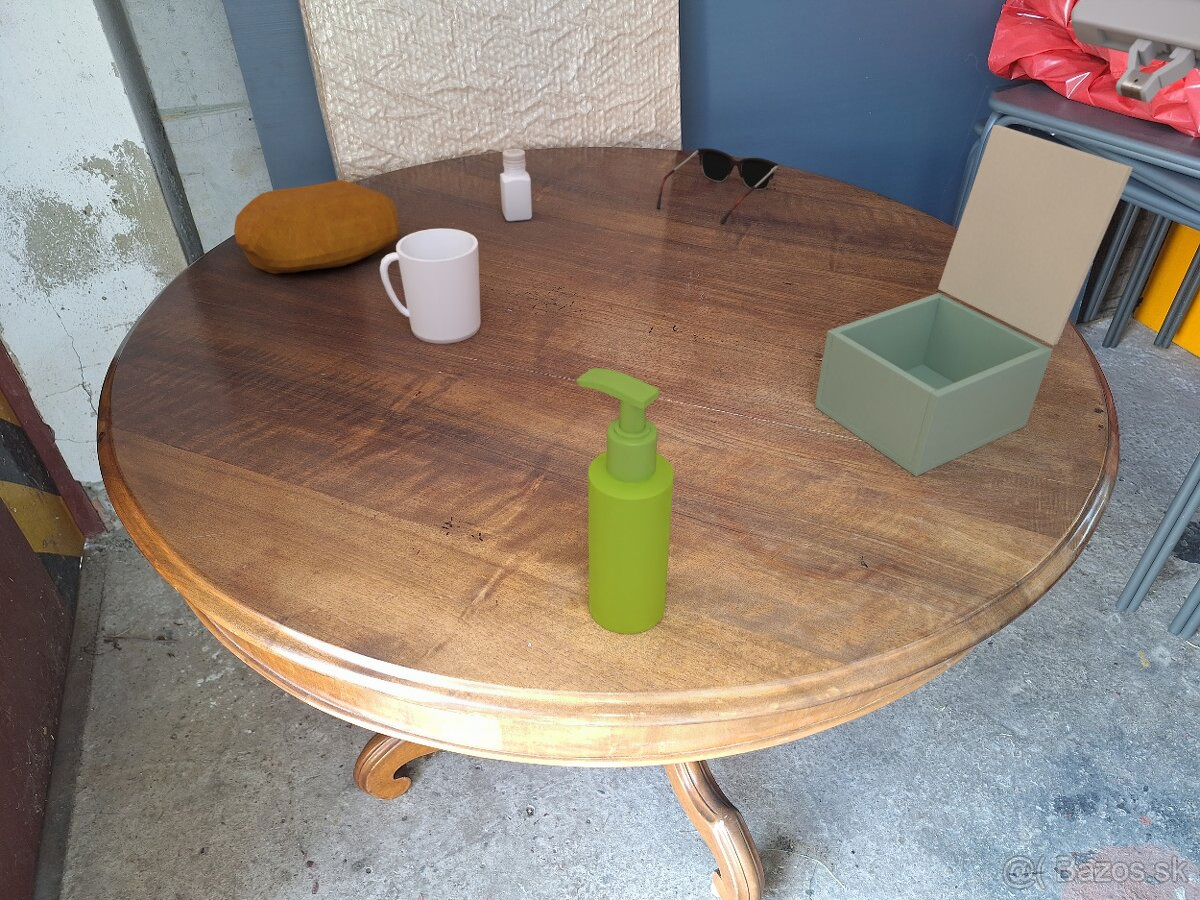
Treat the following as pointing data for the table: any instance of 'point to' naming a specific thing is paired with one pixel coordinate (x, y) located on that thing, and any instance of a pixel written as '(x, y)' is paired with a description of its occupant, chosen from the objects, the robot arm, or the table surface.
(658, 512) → the soap dispenser
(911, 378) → the green open box
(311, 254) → the bread
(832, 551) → the table surface
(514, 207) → the salt shaker
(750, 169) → the sunglasses
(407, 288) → the mug
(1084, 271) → the lid
